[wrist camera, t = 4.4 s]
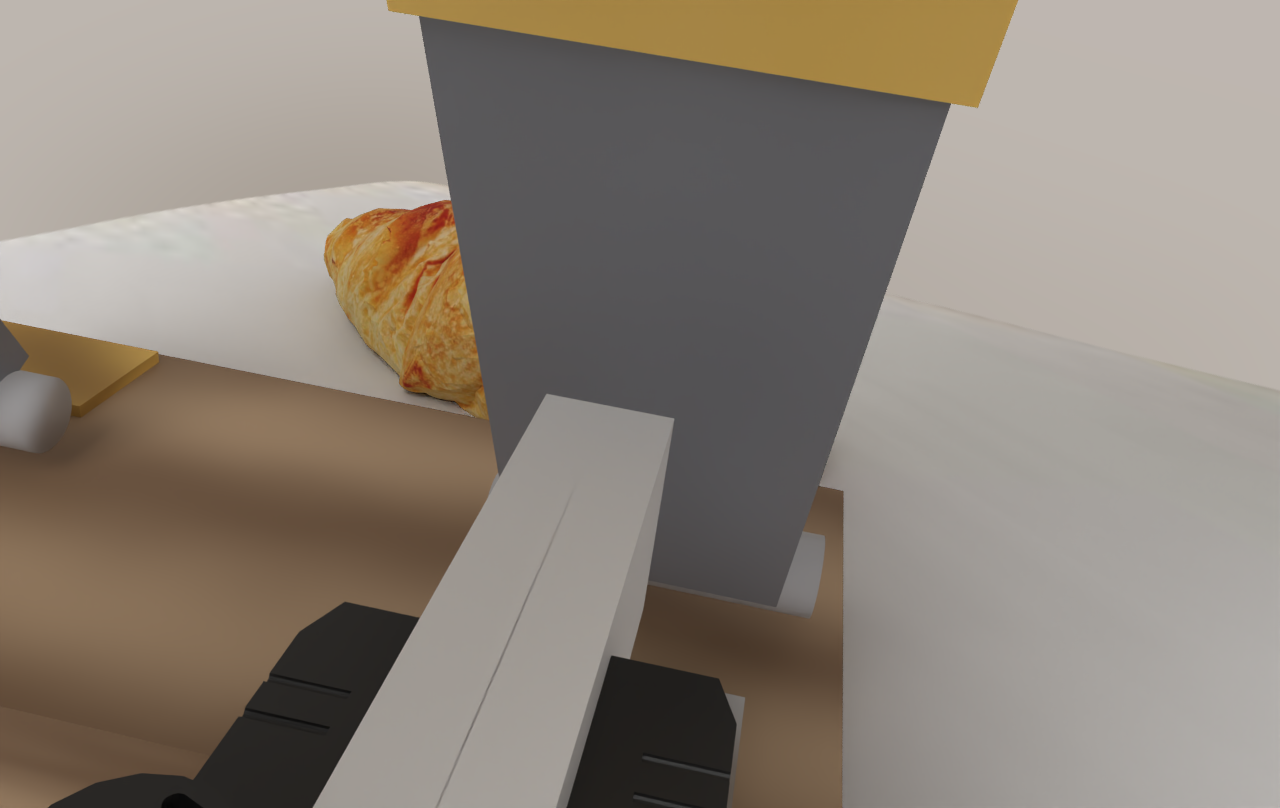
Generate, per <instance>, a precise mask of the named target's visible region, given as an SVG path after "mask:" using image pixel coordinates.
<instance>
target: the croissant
mask: <svg viewBox="0 0 1280 808" xmlns="http://www.w3.org/2000/svg"><path fill="white" fill-rule="evenodd" d="M324 261H325V264H326V267H327V270H328V273H329V276H330V277H331V278H332V279H333V281H334V284H335V287H336V296H337V298H338V301H339V304H340V306H341V307H342V309H343V311H344V312H345V314H346V315H347V317H348V318H349V320H350V321H351V322H352V323H353V325H354V326H355V327H356V329H357V331H358V333H359V334H360V336H361V337H362V339H363V340H364V342H365V343H366V344H367V346H368V347H370V348H371V349H372V350H373V351H375V352H376V353H377V354H378V355H379V356H381V357H382V358H383V359H384V360H385V361H386V362H387V363H388V364H389V365H390V366H391V367H392V368H393V369H394V370H395V371H396V372H397V374H398V375H399V376H400V379H399V384H400V385H401V386H402V387H403V388H404V389H406V390H408V391H410V392H419V393H427V394H428V395H430V396H432V397H434V398H439V399H443V400H449V401H455V402H456V403H457V404H458V405H459V406H460V407H461V408H462V409H464V410H465V411H467V412H468V413H470V414H471V415H473V416H474V417H476V418H480V419H485V420H489V416H488V410H487V404H486V399H485V393H484V387H483V381H482V376H481V370H480V364H479V358H478V352H477V347H476V341H475V335H474V329H473V324H472V318H471V312H470V306H469V301H468V295H467V289H466V283H465V278H464V272H463V266H462V260H461V255H460V249H459V243H458V237H457V232H456V226H455V220H454V214H453V209H452V203H451V201H450V200H443V201H439V202H435V203H431V204H428V205H424V206H421V207H418V208H416V209H413V210H405V209H383V208H378V209H375V210H372V211H370V212H367V213H364V214H361V215H359V216H357V217H355V218H353V219H349V218H346V219H345V220H343V221H342V222H341V223H340V224H339V225H338V226H337V227H336V228H335V229H334V230H333V231H332V232H331V233H330V234H329V235H328V237H327V240H326V245H325V253H324Z"/></svg>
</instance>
